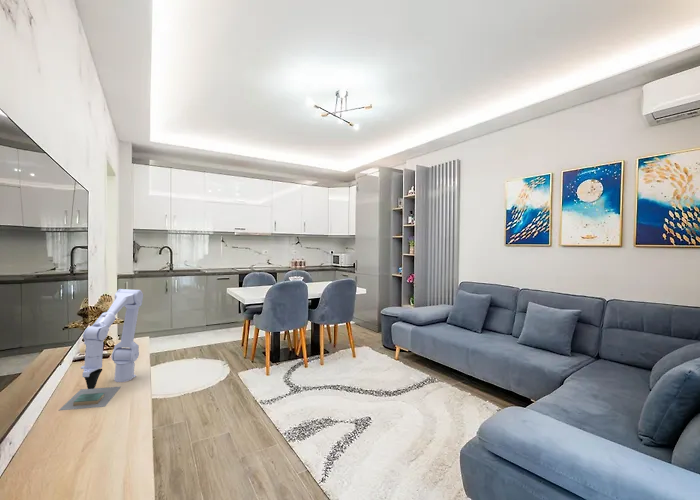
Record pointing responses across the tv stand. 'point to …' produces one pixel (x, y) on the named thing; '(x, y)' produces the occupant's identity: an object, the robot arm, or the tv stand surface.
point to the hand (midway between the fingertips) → (91, 388)
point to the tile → (88, 399)
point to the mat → (104, 401)
